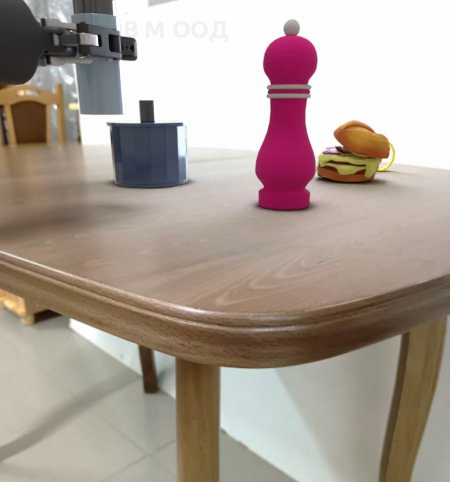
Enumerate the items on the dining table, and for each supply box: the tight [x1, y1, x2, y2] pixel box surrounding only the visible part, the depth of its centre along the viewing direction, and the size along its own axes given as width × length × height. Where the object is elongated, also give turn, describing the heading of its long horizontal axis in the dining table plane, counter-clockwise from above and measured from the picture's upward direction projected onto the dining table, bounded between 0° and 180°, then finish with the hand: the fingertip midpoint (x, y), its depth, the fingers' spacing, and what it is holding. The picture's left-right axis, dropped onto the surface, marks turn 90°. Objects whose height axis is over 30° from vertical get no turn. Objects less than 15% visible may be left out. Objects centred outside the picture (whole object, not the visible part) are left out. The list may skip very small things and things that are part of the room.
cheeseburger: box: [316, 119, 391, 183], centre depth 78 cm, size 10×11×10 cm
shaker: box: [70, 0, 127, 116], centre depth 52 cm, size 5×5×11 cm
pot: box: [108, 125, 189, 189], centre depth 76 cm, size 11×11×8 cm
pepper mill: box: [254, 18, 319, 211], centre depth 56 cm, size 7×7×20 cm
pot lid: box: [105, 99, 190, 127], centre depth 73 cm, size 12×12×4 cm
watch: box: [376, 136, 396, 172], centre depth 89 cm, size 6×3×6 cm, turn 77°
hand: (115, 51), depth 54 cm, fingers closed on shaker, 5 cm apart
